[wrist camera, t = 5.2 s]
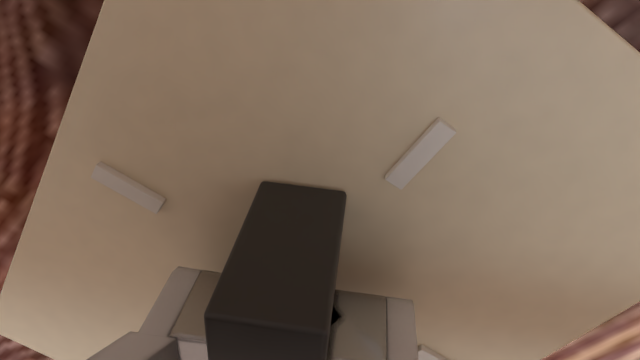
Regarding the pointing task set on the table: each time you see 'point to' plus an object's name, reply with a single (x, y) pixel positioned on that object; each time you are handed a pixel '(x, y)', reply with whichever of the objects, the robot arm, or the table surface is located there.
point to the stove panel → (346, 164)
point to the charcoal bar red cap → (279, 277)
